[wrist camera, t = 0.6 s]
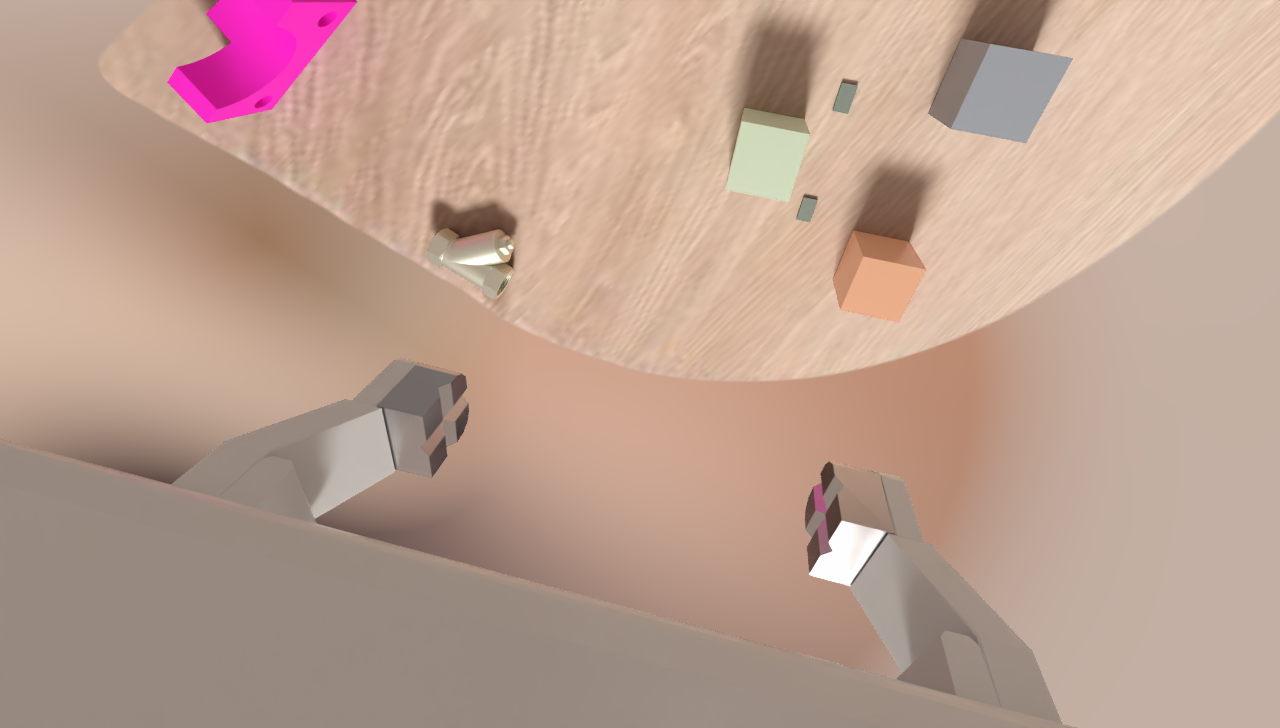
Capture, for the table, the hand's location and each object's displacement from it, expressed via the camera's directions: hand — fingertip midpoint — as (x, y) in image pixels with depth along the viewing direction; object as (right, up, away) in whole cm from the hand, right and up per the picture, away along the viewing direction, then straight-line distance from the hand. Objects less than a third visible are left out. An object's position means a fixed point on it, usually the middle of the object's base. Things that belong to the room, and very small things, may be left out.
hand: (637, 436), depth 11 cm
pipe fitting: (-15, +16, +39) cm, 45 cm away
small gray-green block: (+16, +22, +29) cm, 40 cm away
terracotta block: (+21, +11, +36) cm, 43 cm away
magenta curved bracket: (-32, +32, +34) cm, 57 cm away
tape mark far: (+15, +15, +34) cm, 40 cm away
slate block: (+25, +22, +27) cm, 43 cm away
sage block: (+11, +20, +32) cm, 39 cm away
